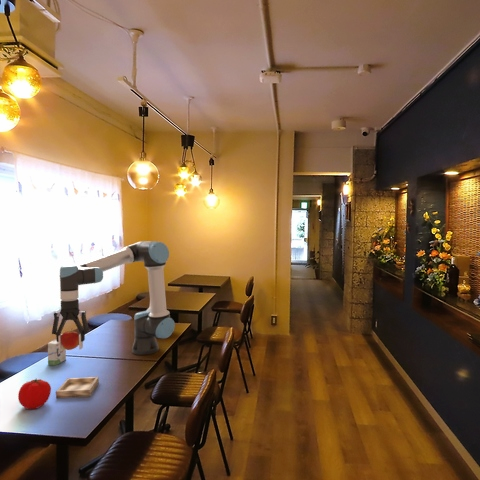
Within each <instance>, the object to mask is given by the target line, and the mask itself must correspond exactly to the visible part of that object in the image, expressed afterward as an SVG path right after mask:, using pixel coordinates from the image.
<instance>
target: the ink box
mask: <svg viewBox="0 0 480 480" xmlns="http://www.w3.org/2000/svg"><path fill="white" fill-rule="evenodd" d="M66 351H67V350H66V349H65V348H64V347H63V348H62V349H61V350H59V342H57V339H54V340H52V341H50V342H48V343H47V365H48V366H57V365H59V364H61V363H63V362H64V361H66V360H67V354H66Z"/></svg>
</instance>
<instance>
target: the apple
mask: <svg viewBox="0 0 480 480" xmlns="http://www.w3.org/2000/svg"><path fill="white" fill-rule="evenodd" d="M61 334H62V336H61V343H62V346H63V347H64V348H65V349H66V351H71V350H75V349H76V348H77V347H79V335H80V333H78V332H77V331H73V329H71V330H66V331H65V332H63V333H61Z"/></svg>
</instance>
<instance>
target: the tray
mask: <svg viewBox="0 0 480 480" xmlns="http://www.w3.org/2000/svg"><path fill="white" fill-rule="evenodd" d="M99 381H100V379H99V376H90V377H89V376H88V377H70V378H67V379H65V381H64V382H63V383H62V384H61V385H60V386H59V388H58V389H57V390H56V391H55V398H56V399H70V398H71V399H72V398H87V397H88V398H90V397H91V396H92V394H93V393H94V392H95V390H96V388H97V387H98V385H99V383H100V382H99Z"/></svg>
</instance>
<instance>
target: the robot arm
mask: <svg viewBox="0 0 480 480" xmlns="http://www.w3.org/2000/svg"><path fill="white" fill-rule="evenodd" d="M169 258H170V249H169V248H168V246H167V245H166V244H165V243H164V242H161V241H157V240H156V241H155V240H154V241H153V240H152V241H151V240H148V241H147V240H141V241H138V242H135V243H133V244H130V245H127V246H125V247H123V248H122V249H121V250H119V251H118V250H117V251H115V252H113V253H110V254H107V255H104V256H101V257H98V258H95V259H92V260H90V261H86V262H83V263H81V264H78V265H76V264H70V265H69V264H67V265H62V266H60V269H59V282H60V283H59V285H60V286H59V287H60V289H59V290H60V291H59V292H60V295H59V296H60V300H61V301H60V311H56V312H54V313H53V318H54V319H53V323H52V324H53V325H52V330H51V334H52V335H55V336H56V337H55V338H56V339H57V342H59V350H61V349H62V348H63V346H62V343H61V336H62V334H63V333H62V331H63V329H64V327H65V325H66V322H67V321H73V323H74V324H75V326H76V327H77V329H78V332H79V345H78V349H79V350H82V349H83V348H84V344H83V343H84V341H85V340H86V337H85V334H87V333H88V332H89V331H90V330H89V325H88V319H87V311H86V310H84V311H83V310H80V302H79V286H82V285H83V286H84V285H89V284H91V285H92V284H97V283H101V282H102V281H103V279H104V272H106V271H109V270H112V269H114V268H117V267H119V266H123V265H125V264H132V263H136V262H143V264H144V265H143V266H144V268H145V269H146V270H147V279H148V281H147V282H148V291H149V293H148V294H149V306H150V305H151V311H146V310H143V311H139V312H136V313H135V314H134V317H133V318H134V319H133V321H134V322H133V323H134V340H133V342H132V343H133V344H132V347H131V352H132V354H134V355H138V356H143V355H151V354H155V353H157V352H159V350H160V349H159V343H158V340H157V338H158V339H167V338H169V337H170V336H171V335H172V333H174V330H175V327H176V325H175V324H176V323H175V321H174V319H173V318H172V317H171V315H170V314H171V313H170V311H169V310H167V300H166V285H165V275H164V274H165V273H164V271H165V270H164V268H165V267H166V266H167V264H166V262H167V261H168V260H169ZM79 315H80V318H79ZM60 316H62V318H61V322H60V324H59V321H60V320H59V319H60ZM80 319H81V321H80ZM81 323H82V324H81ZM56 339H55V340H56Z"/></svg>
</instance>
